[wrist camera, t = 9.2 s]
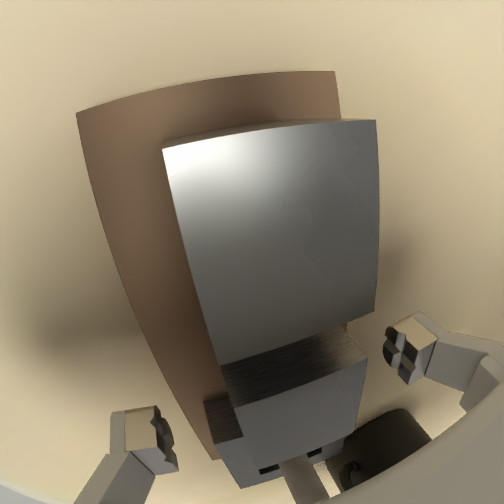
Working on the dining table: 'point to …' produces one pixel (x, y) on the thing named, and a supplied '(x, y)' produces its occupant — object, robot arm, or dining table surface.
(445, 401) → the dining table surface
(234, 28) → the dining table surface
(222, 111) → the brown board with peg
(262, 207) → the hasp latch
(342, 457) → the mug
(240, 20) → the dining table surface
